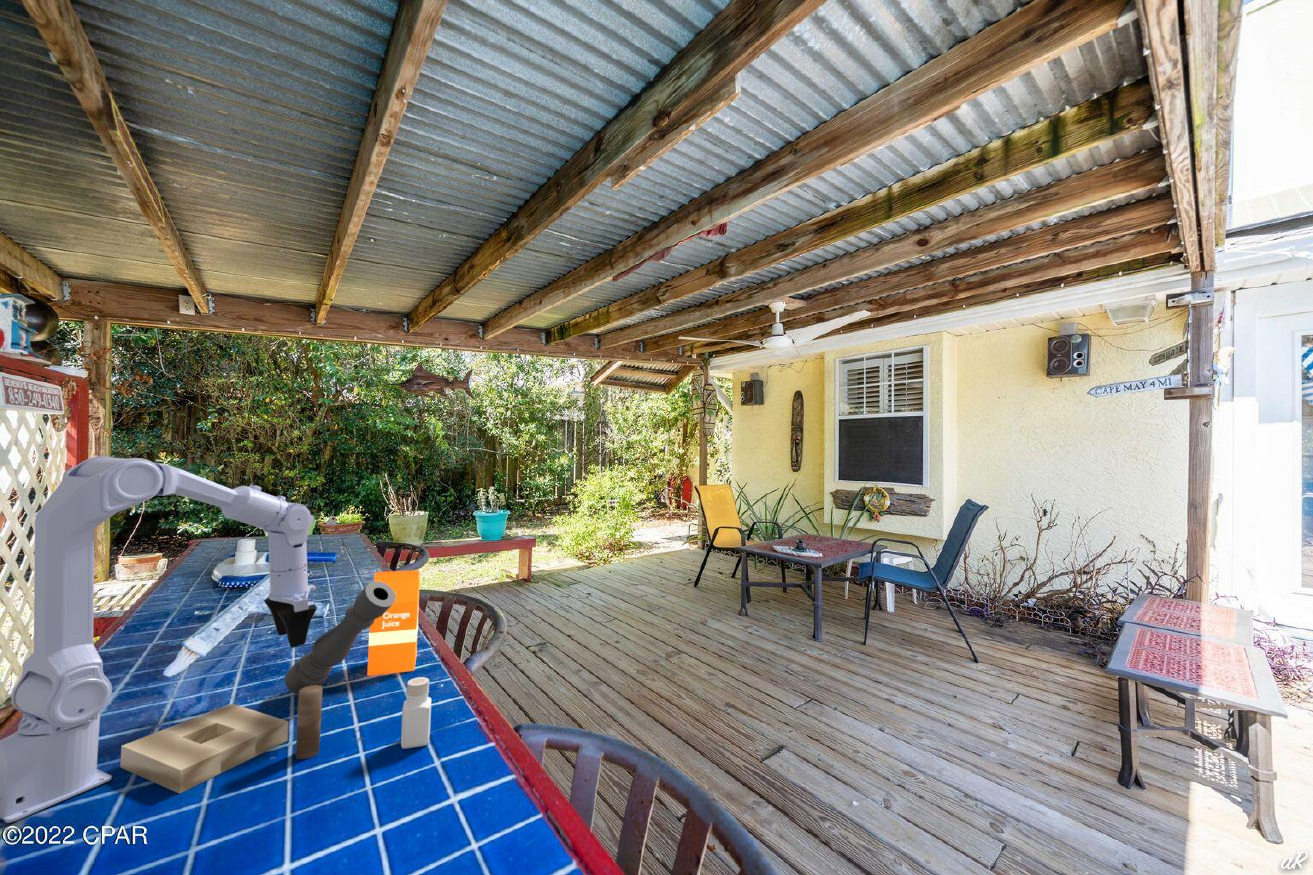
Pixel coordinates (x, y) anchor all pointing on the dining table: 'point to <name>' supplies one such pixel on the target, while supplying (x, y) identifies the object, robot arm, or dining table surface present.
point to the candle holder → (340, 637)
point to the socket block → (203, 746)
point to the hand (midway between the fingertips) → (291, 639)
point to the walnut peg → (309, 721)
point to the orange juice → (396, 626)
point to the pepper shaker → (416, 714)
